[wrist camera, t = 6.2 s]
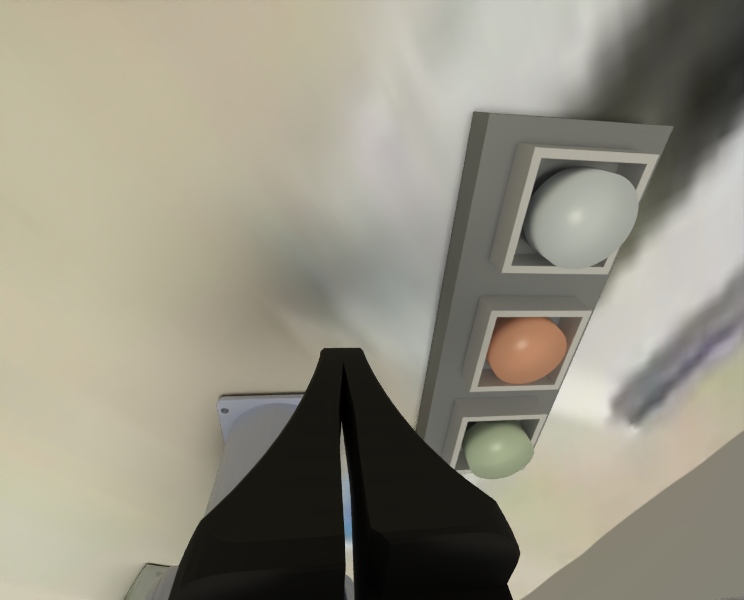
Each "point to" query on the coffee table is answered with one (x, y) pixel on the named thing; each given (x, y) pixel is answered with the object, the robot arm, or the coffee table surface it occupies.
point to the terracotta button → (525, 348)
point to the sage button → (497, 448)
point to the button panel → (516, 267)
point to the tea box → (144, 582)
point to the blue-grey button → (580, 216)
